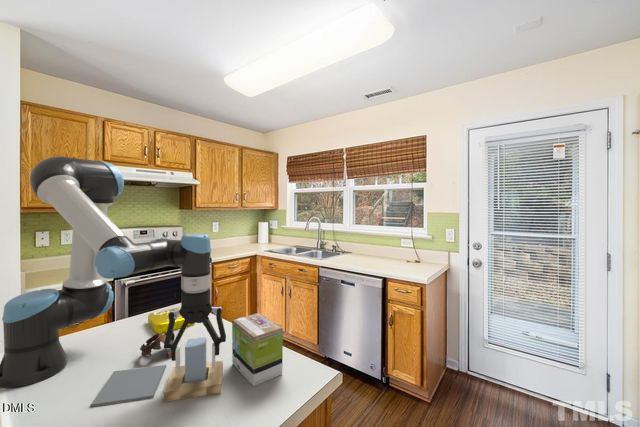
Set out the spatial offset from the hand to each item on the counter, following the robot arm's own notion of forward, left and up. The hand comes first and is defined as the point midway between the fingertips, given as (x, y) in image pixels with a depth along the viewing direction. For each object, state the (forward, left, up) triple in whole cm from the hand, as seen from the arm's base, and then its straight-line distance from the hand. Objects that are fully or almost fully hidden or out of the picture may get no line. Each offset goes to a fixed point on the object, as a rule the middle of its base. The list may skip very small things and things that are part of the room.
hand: (196, 368), depth 83 cm
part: (0, 0, -4) cm, 4 cm away
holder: (0, 0, -4) cm, 4 cm away
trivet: (-17, +4, -4) cm, 18 cm away
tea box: (+17, +3, -5) cm, 18 cm away
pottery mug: (-13, +20, -5) cm, 25 cm away
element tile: (-15, +46, -5) cm, 49 cm away
